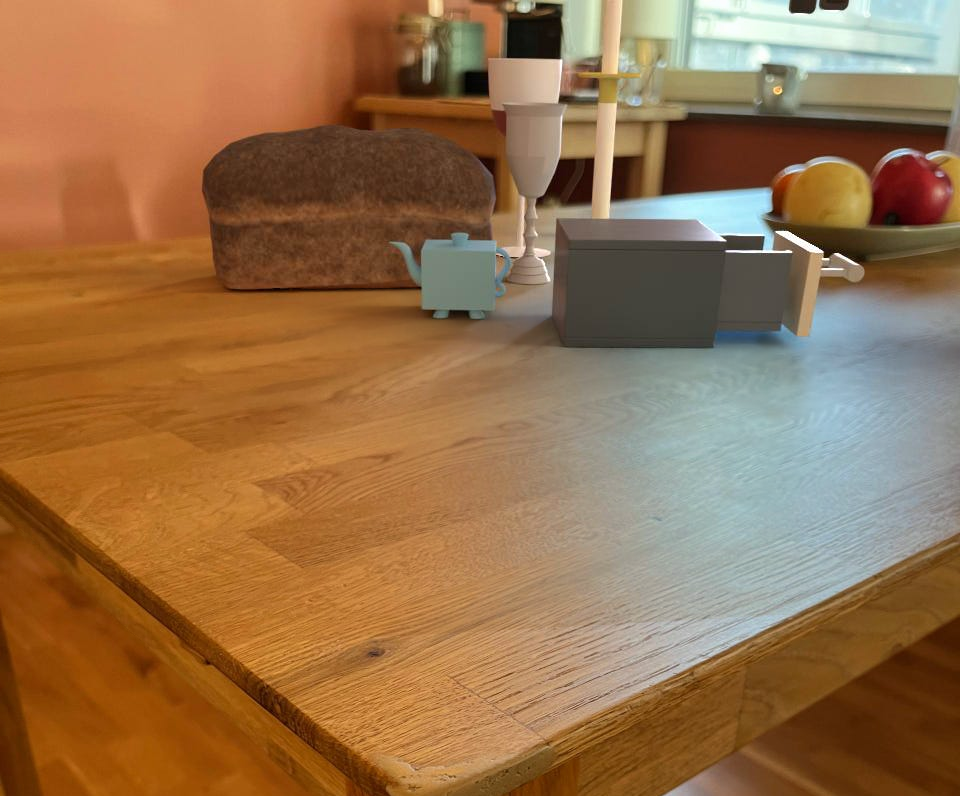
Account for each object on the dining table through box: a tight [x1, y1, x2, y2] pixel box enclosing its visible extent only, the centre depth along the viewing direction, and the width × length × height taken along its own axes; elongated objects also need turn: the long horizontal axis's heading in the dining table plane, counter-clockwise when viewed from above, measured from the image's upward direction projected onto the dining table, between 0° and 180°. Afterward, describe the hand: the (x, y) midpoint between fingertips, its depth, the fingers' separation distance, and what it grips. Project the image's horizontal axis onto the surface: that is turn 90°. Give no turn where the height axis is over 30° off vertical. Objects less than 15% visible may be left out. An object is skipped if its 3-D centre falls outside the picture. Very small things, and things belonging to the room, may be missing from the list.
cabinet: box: [551, 217, 727, 349], centre depth 95 cm, size 14×13×9 cm
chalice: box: [502, 102, 568, 285], centre depth 113 cm, size 7×7×18 cm
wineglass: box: [487, 57, 563, 258], centre depth 127 cm, size 9×10×22 cm
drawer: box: [716, 230, 865, 338], centre depth 95 cm, size 17×11×7 cm, turn 91°
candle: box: [576, 0, 643, 219], centre depth 135 cm, size 10×10×38 cm
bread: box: [201, 124, 497, 290], centre depth 113 cm, size 15×32×16 cm, turn 98°
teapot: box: [389, 233, 512, 320], centre depth 101 cm, size 12×6×8 cm, turn 89°
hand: (816, 12), depth 86 cm, fingers open, 8 cm apart
